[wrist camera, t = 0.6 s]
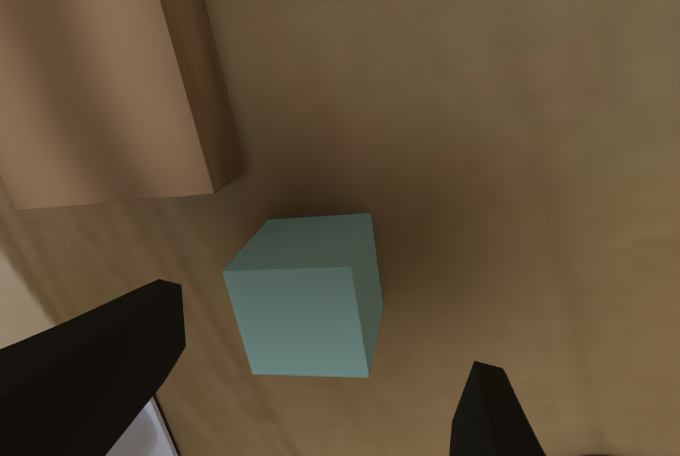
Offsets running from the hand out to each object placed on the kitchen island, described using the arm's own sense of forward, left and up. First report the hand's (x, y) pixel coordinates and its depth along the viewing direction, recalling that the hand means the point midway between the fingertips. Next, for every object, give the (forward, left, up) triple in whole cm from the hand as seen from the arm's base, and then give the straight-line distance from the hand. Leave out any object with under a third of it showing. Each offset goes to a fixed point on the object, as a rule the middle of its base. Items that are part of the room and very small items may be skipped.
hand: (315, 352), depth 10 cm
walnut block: (-11, +7, -10) cm, 16 cm away
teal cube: (-3, -3, -10) cm, 11 cm away
